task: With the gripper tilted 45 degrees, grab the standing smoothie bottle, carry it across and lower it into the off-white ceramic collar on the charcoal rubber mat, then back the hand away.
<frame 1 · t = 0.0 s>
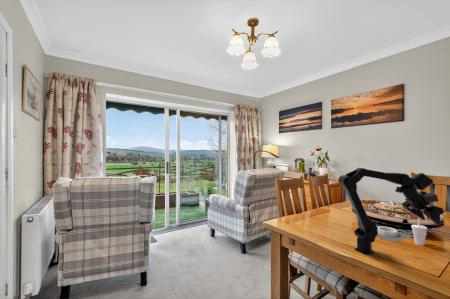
hand: (432, 222, 104), 15 cm above the table, tool tilted 35°, fingers open, 9 cm apart
smoothie: (419, 245, 113), on the table
mat: (387, 234, 128), on the table
collar: (387, 233, 128), resting on mat
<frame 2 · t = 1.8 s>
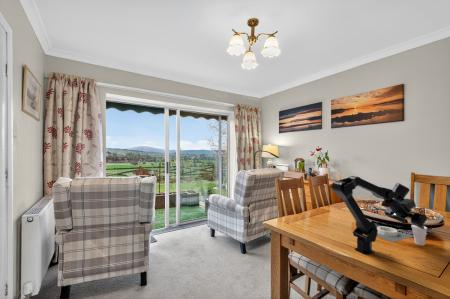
hand: (413, 225, 113), 10 cm above the table, tool tilted 45°, fingers open, 9 cm apart
nothing on the table moved.
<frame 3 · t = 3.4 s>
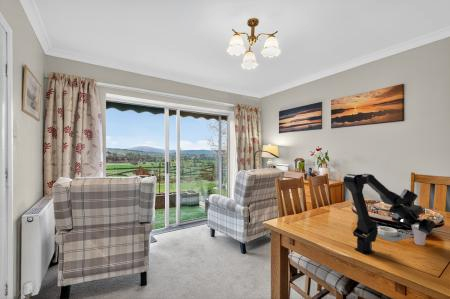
hand: (421, 231, 114), 7 cm above the table, tool tilted 45°, fingers closed on smoothie, 6 cm apart
smoothie: (419, 245, 113), on the table, touching gripper
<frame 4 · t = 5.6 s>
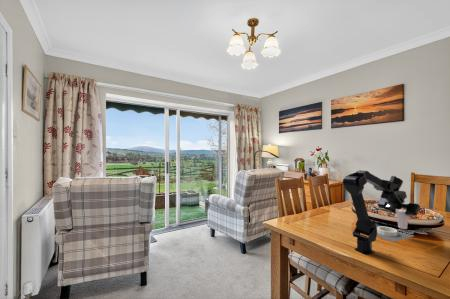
hand: (403, 215, 122), 13 cm above the table, tool tilted 45°, fingers closed on smoothie, 6 cm apart
smoothie: (402, 228, 121), point 6 cm above the table, touching gripper
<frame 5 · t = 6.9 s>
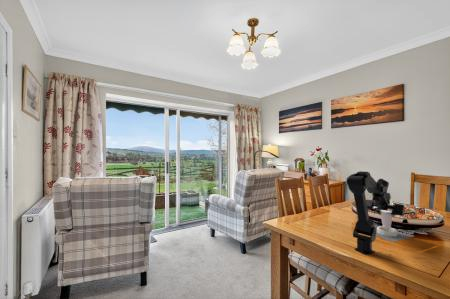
hand: (387, 215, 129), 11 cm above the table, tool tilted 45°, fingers closed on smoothie, 6 cm apart
smoothie: (386, 227, 128), point 4 cm above the table, touching gripper
when the fingers open (9 cm above the table, at t = 7.9 s): smoothie drops 1 cm, resting on mat.
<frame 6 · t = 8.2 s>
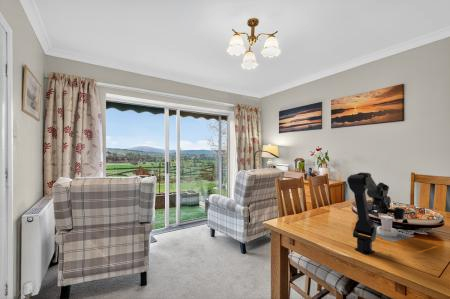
hand: (387, 218, 129), 9 cm above the table, tool tilted 45°, fingers open, 9 cm apart
smoothie: (386, 233, 128), resting on mat
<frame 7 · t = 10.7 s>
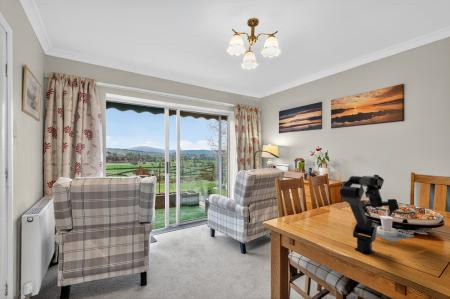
hand: (379, 215, 123), 13 cm above the table, tool tilted 35°, fingers open, 9 cm apart
nothing on the table moved.
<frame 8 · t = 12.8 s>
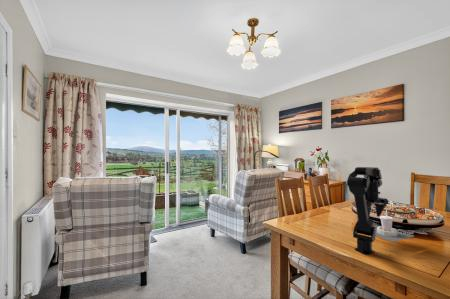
hand: (372, 217, 119), 13 cm above the table, tool pointing down, fingers open, 9 cm apart
nothing on the table moved.
at the end: smoothie 0.1 cm off-centre on the collar, point 0.0 cm above the collar's base; smoothie tilted 0°; the gripper is holding nothing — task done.
